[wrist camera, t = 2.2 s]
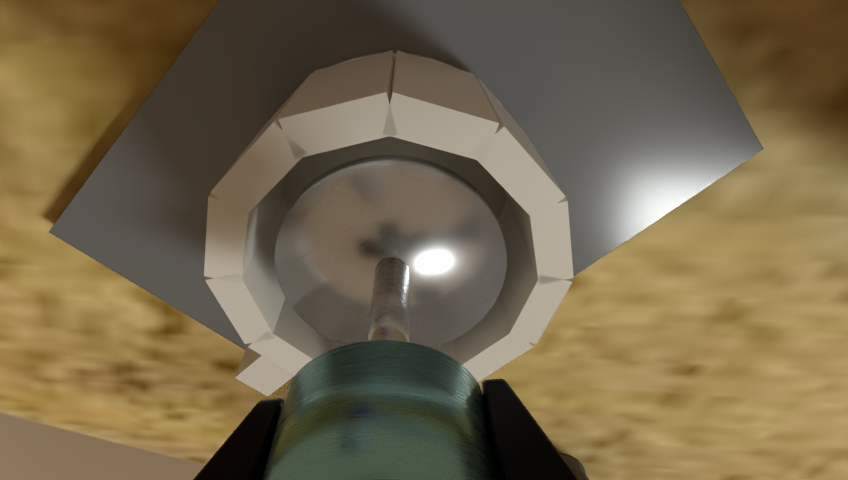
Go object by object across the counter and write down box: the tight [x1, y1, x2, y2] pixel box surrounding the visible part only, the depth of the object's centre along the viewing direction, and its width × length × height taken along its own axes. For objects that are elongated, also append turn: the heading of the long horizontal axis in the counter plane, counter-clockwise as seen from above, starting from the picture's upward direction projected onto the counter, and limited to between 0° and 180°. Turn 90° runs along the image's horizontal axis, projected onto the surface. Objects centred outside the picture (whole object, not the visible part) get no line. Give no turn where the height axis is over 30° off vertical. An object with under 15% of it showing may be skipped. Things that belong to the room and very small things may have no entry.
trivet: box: [49, 0, 763, 378], centre depth 16 cm, size 20×15×1 cm
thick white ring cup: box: [204, 50, 574, 396], centre depth 14 cm, size 11×9×5 cm
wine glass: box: [262, 155, 507, 480], centre depth 9 cm, size 6×6×8 cm
